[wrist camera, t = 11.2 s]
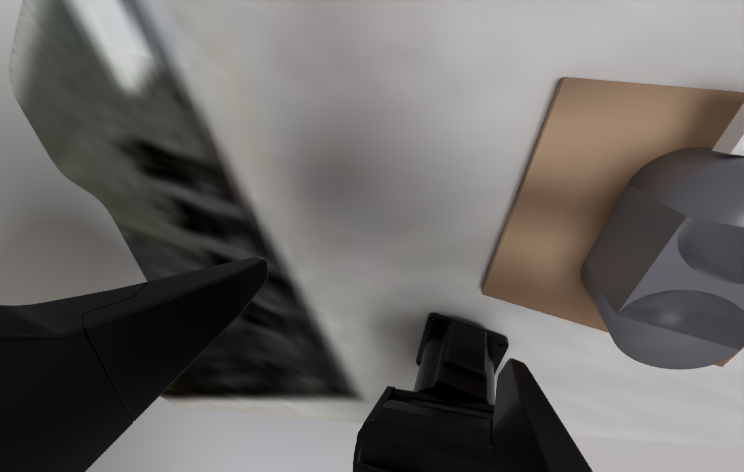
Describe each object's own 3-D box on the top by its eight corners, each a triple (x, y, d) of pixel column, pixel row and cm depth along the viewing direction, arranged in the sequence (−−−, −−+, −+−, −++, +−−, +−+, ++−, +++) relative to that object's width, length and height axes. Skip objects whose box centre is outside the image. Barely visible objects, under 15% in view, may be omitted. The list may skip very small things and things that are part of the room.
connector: (649, 312, 16) (704, 382, 12) (567, 289, 18) (593, 347, 13) (818, 95, 11) (1025, 90, 7) (683, 84, 12) (787, 74, 8)
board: (712, 356, 17) (721, 366, 16) (481, 287, 21) (481, 293, 20) (969, 114, 10) (1001, 115, 10) (560, 78, 14) (564, 77, 13)
